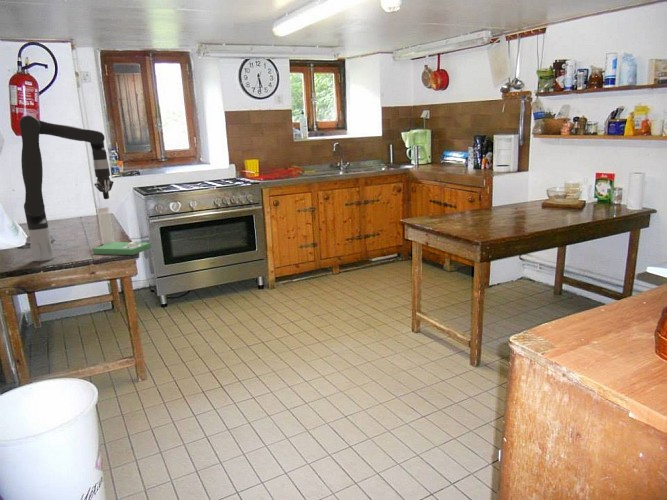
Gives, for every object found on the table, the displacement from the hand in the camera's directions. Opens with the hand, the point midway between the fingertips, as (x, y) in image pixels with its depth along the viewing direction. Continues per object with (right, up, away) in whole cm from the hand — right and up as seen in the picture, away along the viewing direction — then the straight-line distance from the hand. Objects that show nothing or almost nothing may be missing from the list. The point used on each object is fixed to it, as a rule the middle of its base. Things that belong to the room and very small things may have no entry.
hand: (106, 198), depth 278 cm
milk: (-9, -25, +22) cm, 35 cm away
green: (+9, -29, +1) cm, 31 cm away
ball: (+15, -27, -2) cm, 31 cm away
